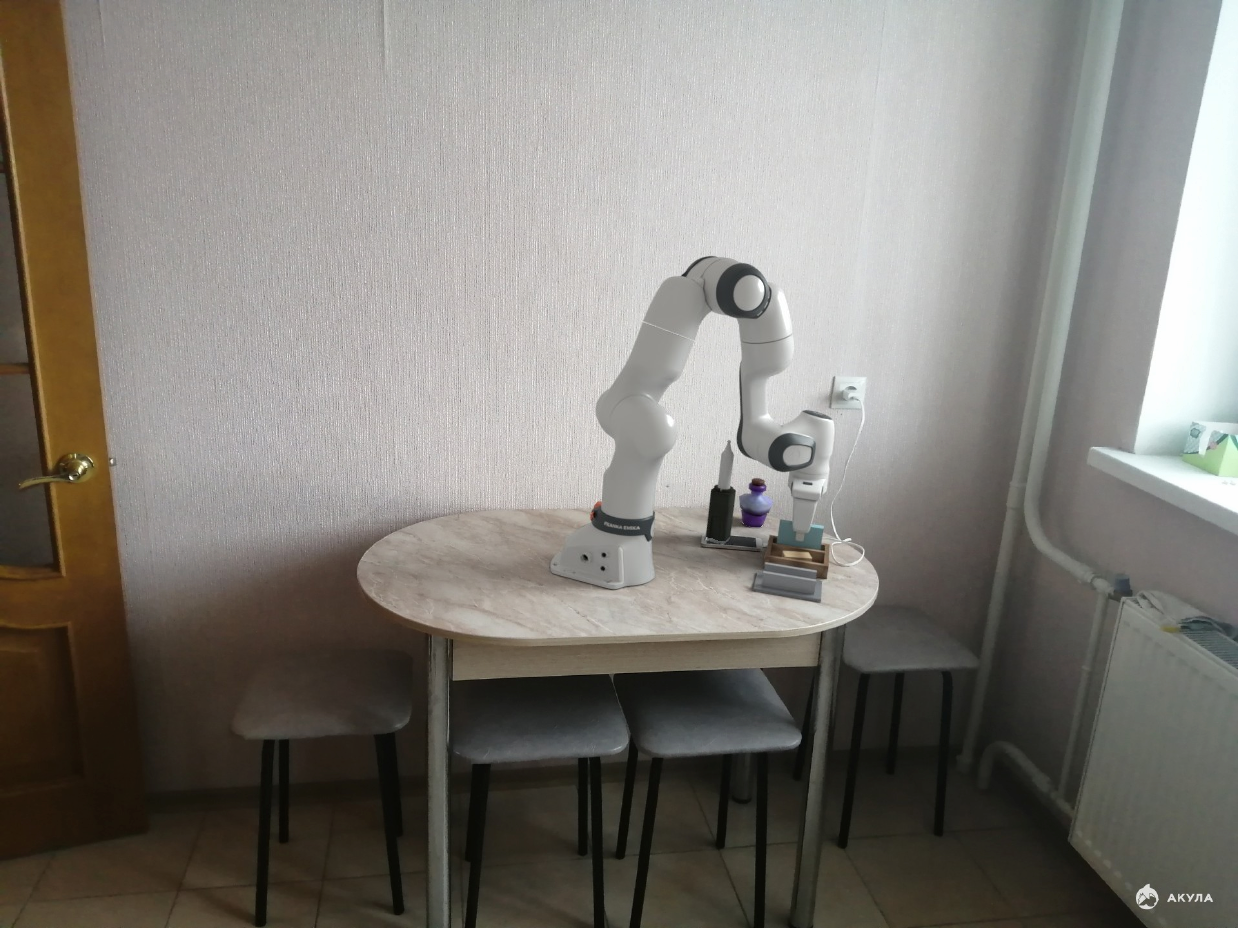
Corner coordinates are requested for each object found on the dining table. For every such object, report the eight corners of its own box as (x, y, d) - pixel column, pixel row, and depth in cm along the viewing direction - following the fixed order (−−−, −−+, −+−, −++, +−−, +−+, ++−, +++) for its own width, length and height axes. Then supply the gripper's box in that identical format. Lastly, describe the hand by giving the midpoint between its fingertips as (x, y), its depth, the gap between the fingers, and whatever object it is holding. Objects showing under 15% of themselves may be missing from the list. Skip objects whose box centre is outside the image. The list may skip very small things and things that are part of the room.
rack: (763, 568, 198) (764, 556, 197) (768, 546, 211) (769, 534, 211) (826, 578, 195) (828, 566, 195) (827, 555, 208) (829, 544, 208)
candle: (731, 539, 214) (743, 440, 207) (723, 545, 210) (735, 444, 202) (711, 534, 216) (723, 435, 209) (703, 540, 212) (715, 440, 205)
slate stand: (753, 590, 186) (755, 575, 185) (757, 572, 196) (759, 557, 195) (820, 602, 183) (823, 586, 182) (821, 583, 193) (824, 568, 192)
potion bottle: (771, 521, 229) (776, 477, 225) (768, 532, 221) (774, 486, 217) (737, 516, 230) (743, 472, 227) (734, 527, 222) (739, 481, 219)
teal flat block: (775, 554, 207) (779, 522, 205) (775, 550, 209) (780, 519, 207) (818, 560, 205) (823, 528, 203) (818, 557, 207) (823, 525, 205)
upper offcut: (784, 564, 198) (785, 556, 198) (781, 557, 202) (782, 550, 201) (810, 565, 199) (812, 558, 198) (807, 559, 202) (808, 552, 202)
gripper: (796, 466, 212) (788, 520, 216) (791, 491, 193) (783, 550, 197) (823, 470, 211) (814, 524, 215) (821, 496, 192) (812, 555, 196)
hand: (799, 537), depth 206 cm, fingers closed on teal flat block, 2 cm apart
